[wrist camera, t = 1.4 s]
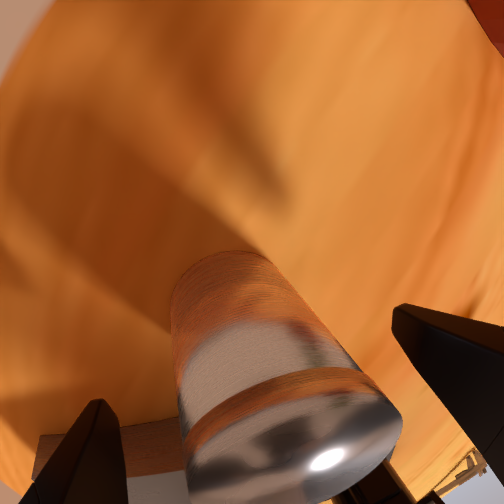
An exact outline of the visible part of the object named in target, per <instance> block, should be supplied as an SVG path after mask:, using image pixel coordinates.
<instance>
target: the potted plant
mask: <svg viewBox="0 0 504 504" xmlns="http://www.w3.org/2000/svg"><path fill="white" fill-rule="evenodd" d="M467 1H468V2H469V4H470V6H471V8H472V10H473V12H474V14H475V16H476V18H477V20H478V21H479V23H480V24H481V26H482V27H483V29H484V31H485V32H486V34H487V35H488V37H489V39H490V40H491V42H492V43H493V45H494V46H495V47H496V48H497V50H498V51H499V52H500V53H501V55H502V56H503V57H504V0H467Z"/></svg>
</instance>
